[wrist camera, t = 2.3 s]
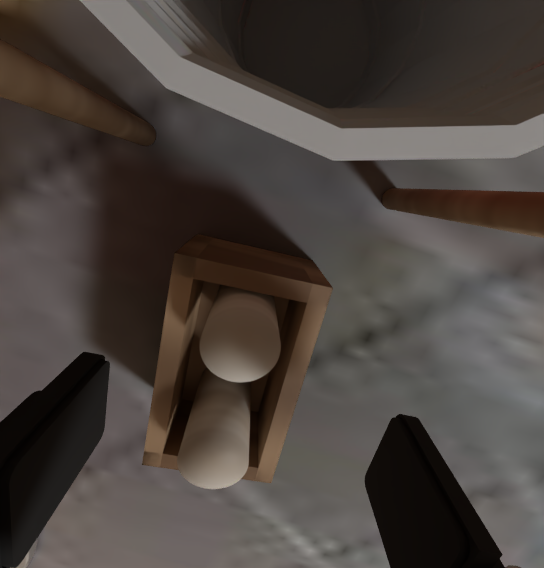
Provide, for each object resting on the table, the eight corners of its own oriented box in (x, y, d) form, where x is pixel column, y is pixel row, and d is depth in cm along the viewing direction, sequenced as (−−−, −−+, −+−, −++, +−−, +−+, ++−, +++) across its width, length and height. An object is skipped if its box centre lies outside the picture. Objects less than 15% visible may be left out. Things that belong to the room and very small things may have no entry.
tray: (268, 415, 19) (272, 515, 13) (169, 398, 18) (129, 496, 13) (312, 260, 16) (343, 302, 10) (197, 233, 15) (161, 262, 10)
